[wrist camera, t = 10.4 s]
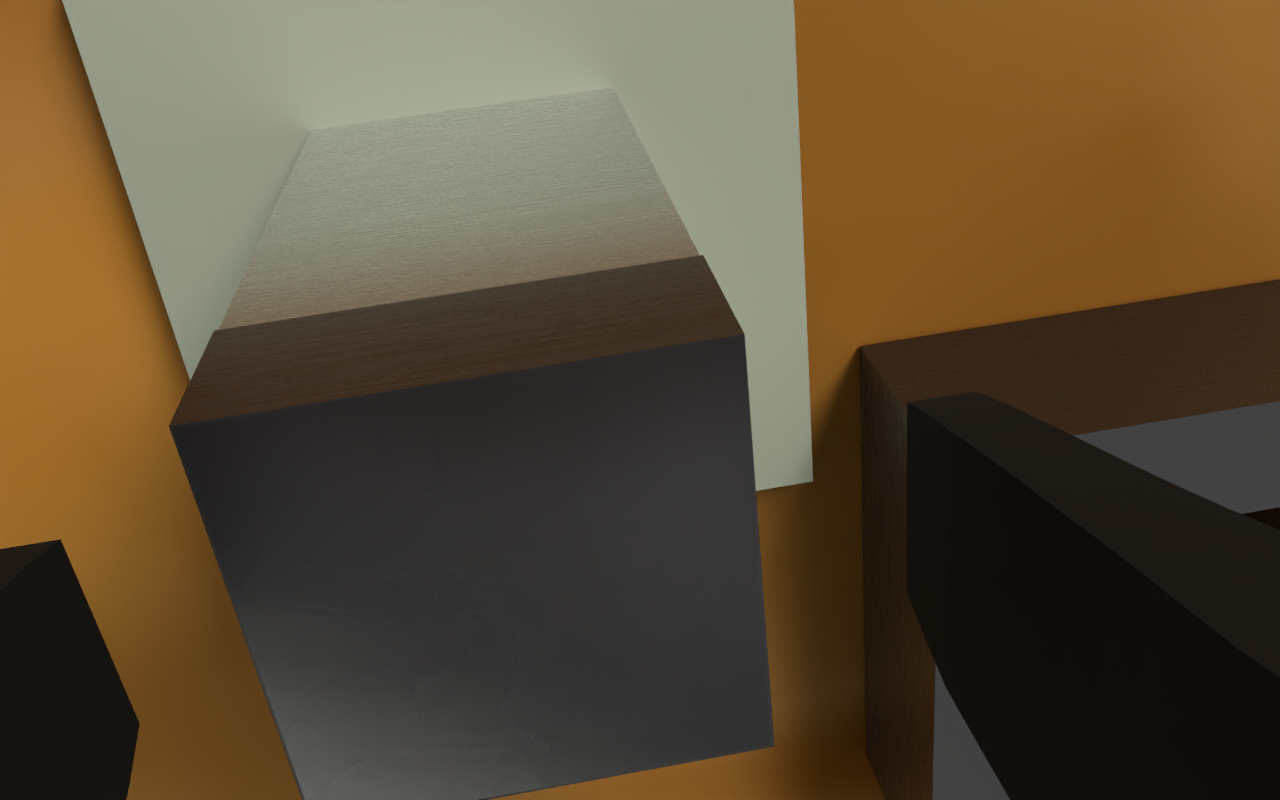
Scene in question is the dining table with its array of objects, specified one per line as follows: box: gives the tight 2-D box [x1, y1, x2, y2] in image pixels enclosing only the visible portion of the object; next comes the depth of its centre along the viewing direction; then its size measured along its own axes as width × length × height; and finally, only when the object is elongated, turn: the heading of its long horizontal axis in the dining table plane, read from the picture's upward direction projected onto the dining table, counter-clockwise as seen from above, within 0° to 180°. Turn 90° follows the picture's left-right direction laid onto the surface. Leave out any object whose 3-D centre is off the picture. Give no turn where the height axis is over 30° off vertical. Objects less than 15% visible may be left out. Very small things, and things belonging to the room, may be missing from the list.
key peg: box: [169, 87, 774, 800], centre depth 12 cm, size 4×4×8 cm
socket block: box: [860, 279, 1280, 800], centre depth 19 cm, size 9×9×4 cm
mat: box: [62, 0, 813, 491], centre depth 16 cm, size 9×9×1 cm
